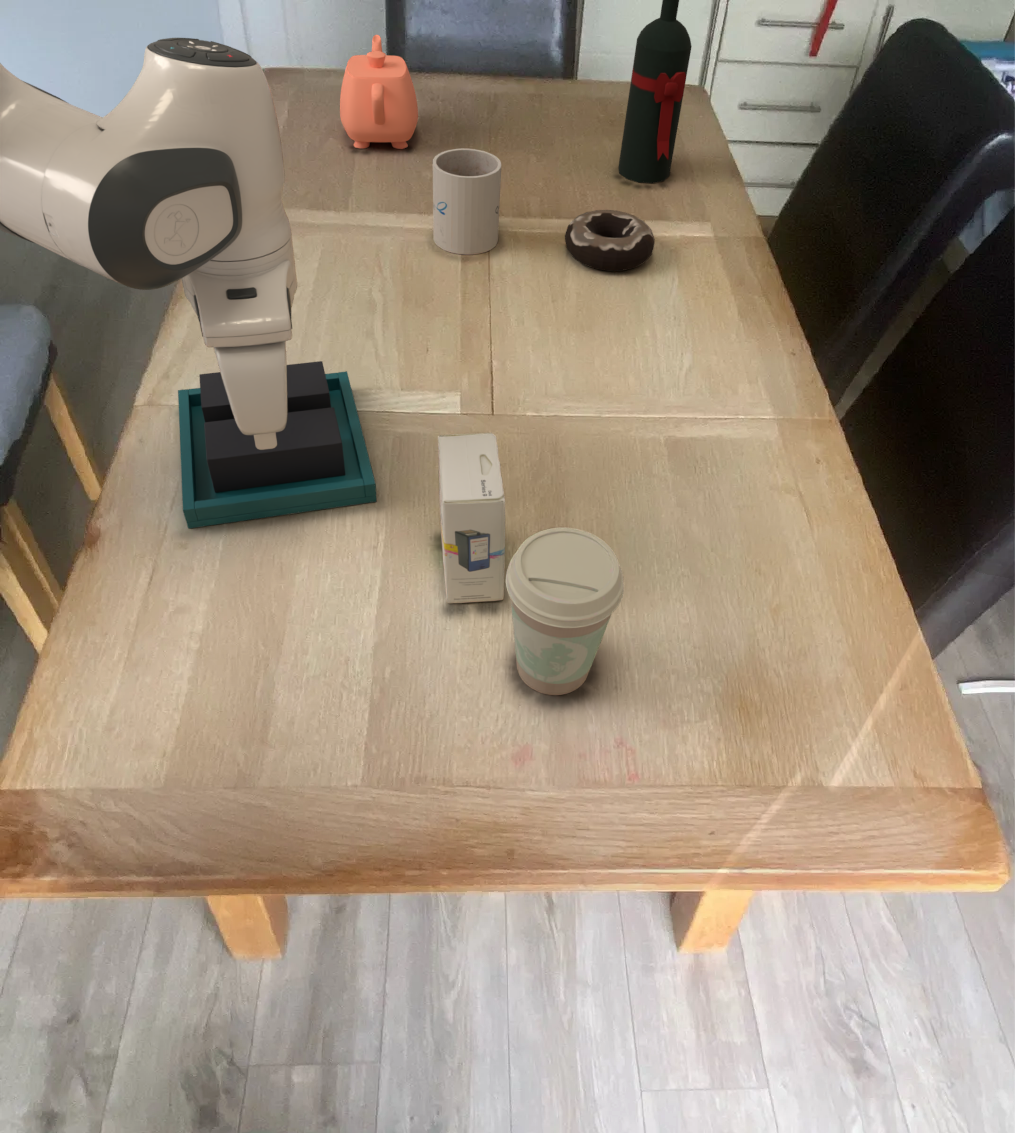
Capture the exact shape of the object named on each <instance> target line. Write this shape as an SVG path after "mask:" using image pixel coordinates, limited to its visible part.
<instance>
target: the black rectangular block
mask: <svg viewBox="0 0 1015 1133" xmlns="http://www.w3.org/2000/svg"><path fill="white" fill-rule="evenodd" d="M325 374H326V372H325V367H324V362H323V361H322V360H319V361H310V362H301V363H291V364H287V413H289V412H298V411H306V410H314V409H323V408H331V402H330V394H329V389H328V384H327V380H326V376H325ZM198 377H199V388H200V392H201V407H202V412H203V416H204V420H205V422H214V421H222V420H230V419H235V418H234V415H233V412H232V409H231V406H230V403H229V399H228V396H227V393H226V390H225V386H224V383H223V380H222V376H221V373H220V371H217V372H209V373H208V372H207V373H200V374H199V376H198Z"/></svg>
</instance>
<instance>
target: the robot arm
mask: <svg viewBox="0 0 1015 1133" xmlns="http://www.w3.org/2000/svg"><path fill="white" fill-rule="evenodd" d="M263 70H264V69H263V68H262V67H261V64H260V63H259V62H258V61H257V60H255V59H254V58H253V57H252V56H251V55H250V54H248V53H246V52H244V51H242V50H239V49H237V48H234V47H231V46H229V45H226V44H224V43H219V42H216V41H214V40H213V41H212V40H210V41H209V40H203V39H199V38H192V37H191V38H190V37H166V38H161V39H160V38H159V39H157V40H156V41H153V42H151V43H149V44H148V45H147V46H146V47H145V50H144V54H143V64H142V66H141V69H140V72H139V74H138V75H137V77H136V79H135V81H134V83H133V84H132V86H131V88H130V89H129V90H128V92H127V93H126V94H125V96H124V97H123V98H122V100H121V101H119V103H118V104H116V106H115V107H114V108H113V109H112V110H111V111H110V112H108V113H107V114H105V115H104V116H100V115H97V114H96V113H92V112H91V111H88V110H85V109H83V108H81V107H79V106H76V105H73V104H71V103H69V102H67V101H66V100H64V99H62V98H60V97H59V96H56V95H54V94H52V93H50V92H48V91H46V90H44V89H41V88H40V87H38V86H35V85H34V84H31V83H29V82H27V81H24V80H22V79H20V78H19V77H18V76H15V74H13V73H12V72H10V71H9V70H8V69H7V68H6V67H5V66H4V65H3V64H2V63H1V62H0V231H1V232H3V233H5V234H9V235H11V236H14V237H17V238H19V239H21V240H24V241H26V242H27V241H28V242H30V243H33V244H36V245H38V246H40V247H42V248H45V249H46V250H49V251H50V252H53V253H54V254H57V255H58V256H59V257H60V256H61V257H62V258H64V259H66V260H68V261H71V262H72V263H74V264H76V265H78V266H81V267H84V268H86V269H87V270H90V271H91V272H93V273H96V274H97V275H100V276H102V277H104V278H106V279H109V280H111V281H113V282H115V283H117V284H120V285H123V286H124V287H125V286H126V287H127V288H131V289H135V290H140V291H141V290H142V291H150V290H151V291H152V290H157V289H162V288H165V287H168V286H170V285H172V284H174V283H176V282H178V281H179V280H181V285H182V289H183V293H184V297H185V299H186V300H187V301H188V302H189V304H190V305H191V308H192V309H193V312H194V313H195V314H196V316H197V319H198V322H199V326H200V331H201V336H202V339H203V342H204V346H205V347H207V348H213V352H214V355H215V360H216V363H217V367H218V370H219V372H220V373H221V376H222V380H223V383H224V386H225V390H226V393H227V396H228V399H229V403H230V406H231V409H232V412H233V415H234V418H235V421H236V423H237V426H238V428H239V429H240V431H241V432H242V433H243V434H244V435H254V440H255V445H256V448H257V449H260V450H264V449H273V448H275V447H276V446H277V439H276V432H280V431H283V430H284V429H285V427H286V423H287V365H288V364H287V341H291V340H292V339H293V322H292V307H293V304H294V300H295V295H296V293H297V291H298V276H297V269H296V267H297V266H296V259H295V252H294V251H295V250H294V242H293V233H292V226H291V222H290V219H289V216H288V215H287V212H286V210H285V206H284V201H283V199H284V198H283V194H284V186H285V181H286V180H285V179H286V170H285V161H284V152H283V144H282V138H281V131H280V126H279V125H280V124H279V120H278V114H277V110H276V105H275V102H274V98H273V97H274V96H273V94H272V90H271V88H270V84H269V82H268V80H267V79H268V78H267V77H266V74H265V72H264V71H263Z"/></svg>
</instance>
